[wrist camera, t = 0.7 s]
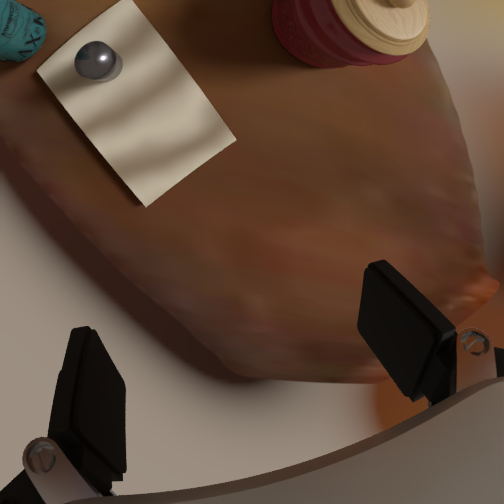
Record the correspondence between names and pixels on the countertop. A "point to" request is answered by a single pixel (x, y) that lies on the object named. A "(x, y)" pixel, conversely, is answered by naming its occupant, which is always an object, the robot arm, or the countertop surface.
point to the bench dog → (98, 62)
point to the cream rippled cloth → (138, 104)
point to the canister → (350, 30)
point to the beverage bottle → (19, 31)
